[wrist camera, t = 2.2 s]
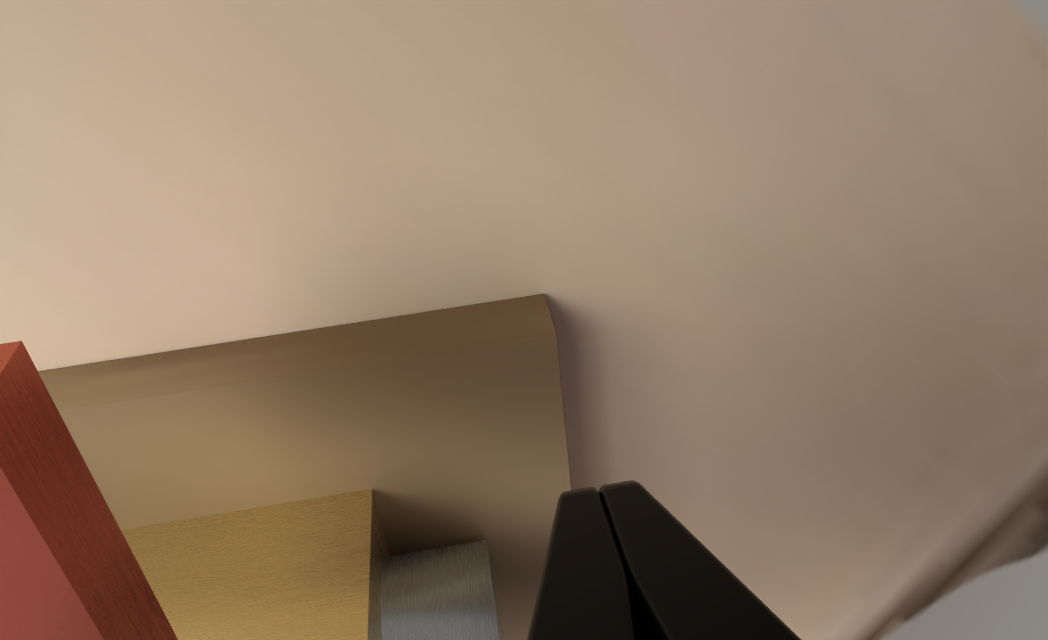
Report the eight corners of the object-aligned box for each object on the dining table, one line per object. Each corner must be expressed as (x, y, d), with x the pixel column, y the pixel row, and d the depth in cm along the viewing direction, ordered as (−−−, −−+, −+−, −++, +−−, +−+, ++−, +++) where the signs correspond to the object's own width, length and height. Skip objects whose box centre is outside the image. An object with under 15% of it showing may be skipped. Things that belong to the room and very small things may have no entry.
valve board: (580, 648, 24) (590, 696, 23) (84, 736, 23) (65, 790, 22) (544, 293, 18) (556, 334, 16) (-150, 400, 17) (-194, 450, 16)
